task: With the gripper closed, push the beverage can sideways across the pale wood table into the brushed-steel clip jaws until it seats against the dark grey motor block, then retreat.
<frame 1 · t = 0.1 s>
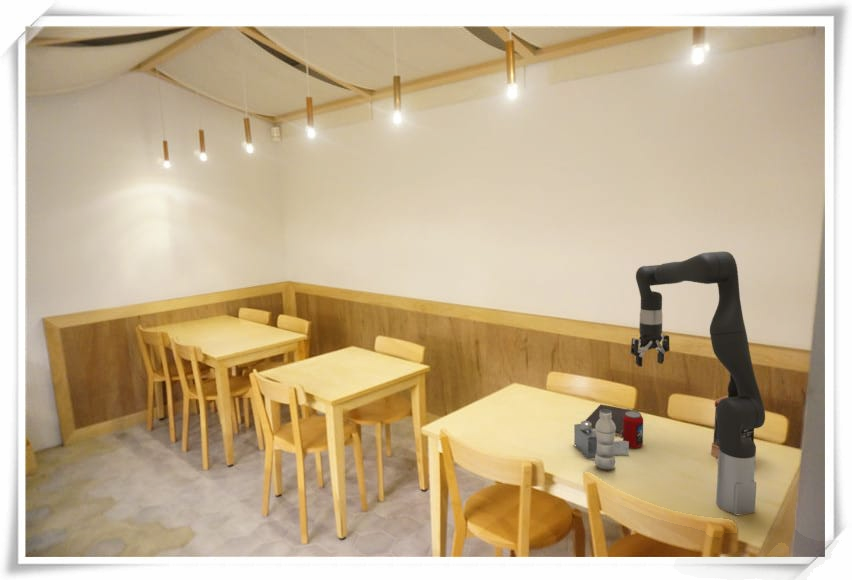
hand: (649, 364, 199), 29 cm above the table, fingers open, 8 cm apart
whiskey bottle: (732, 457, 188), on the table
motor housing: (599, 452, 197), on the table
hardcover book: (611, 423, 220), on the table
plastic bottle: (605, 468, 186), on the table
beverage can: (632, 445, 201), on the table
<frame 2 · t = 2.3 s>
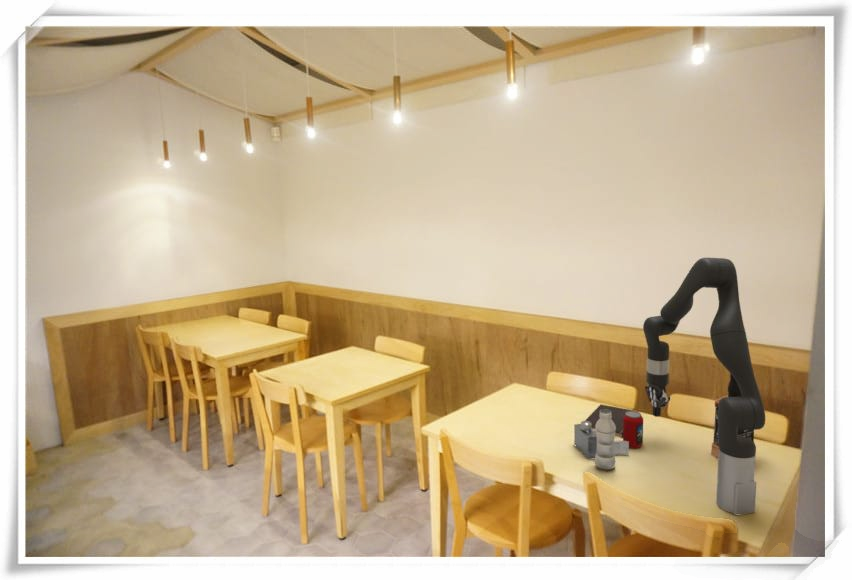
hand: (656, 415, 200), 10 cm above the table, fingers closed
nothing on the table moved.
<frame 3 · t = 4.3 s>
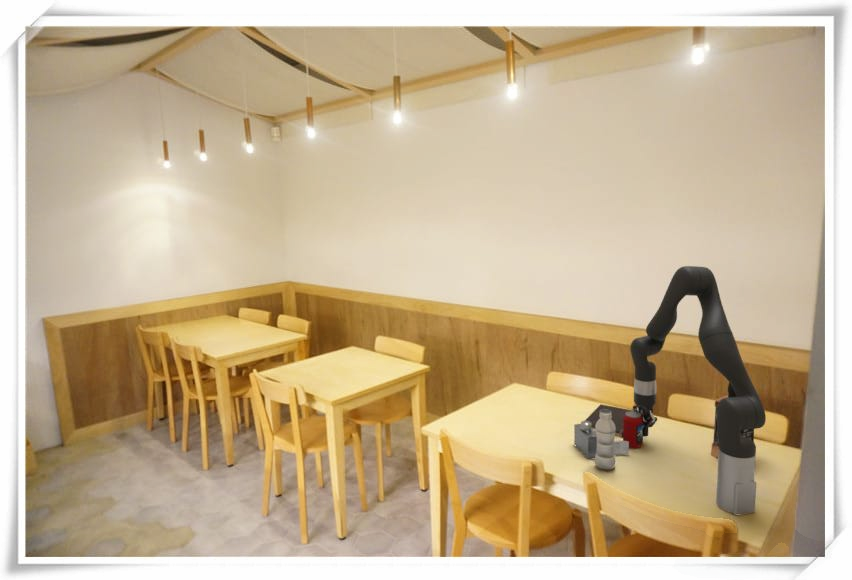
hand: (644, 435, 201), 3 cm above the table, fingers closed
beverage can: (632, 445, 201), on the table, touching gripper
everything else where it was.
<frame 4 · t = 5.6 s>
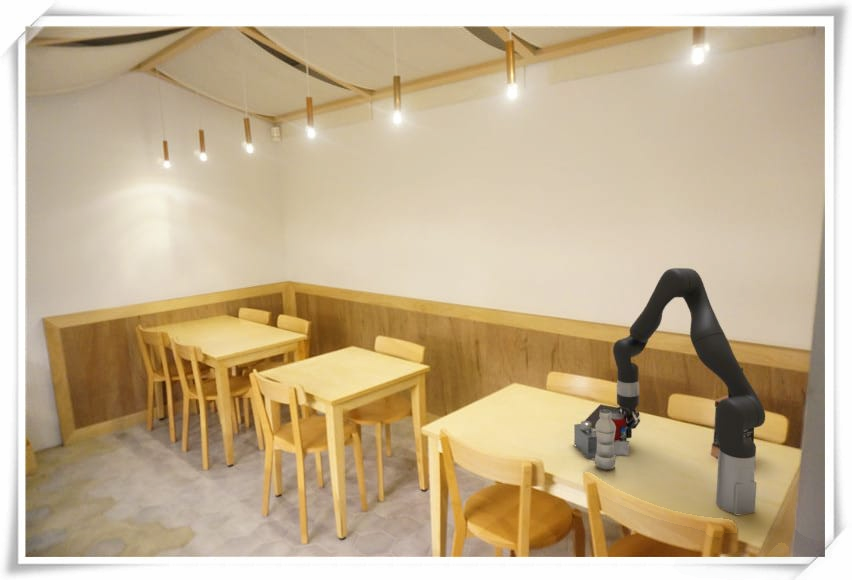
hand: (627, 437, 200), 3 cm above the table, fingers closed
beverage can: (616, 447, 200), on the table, touching gripper
everything else where it was.
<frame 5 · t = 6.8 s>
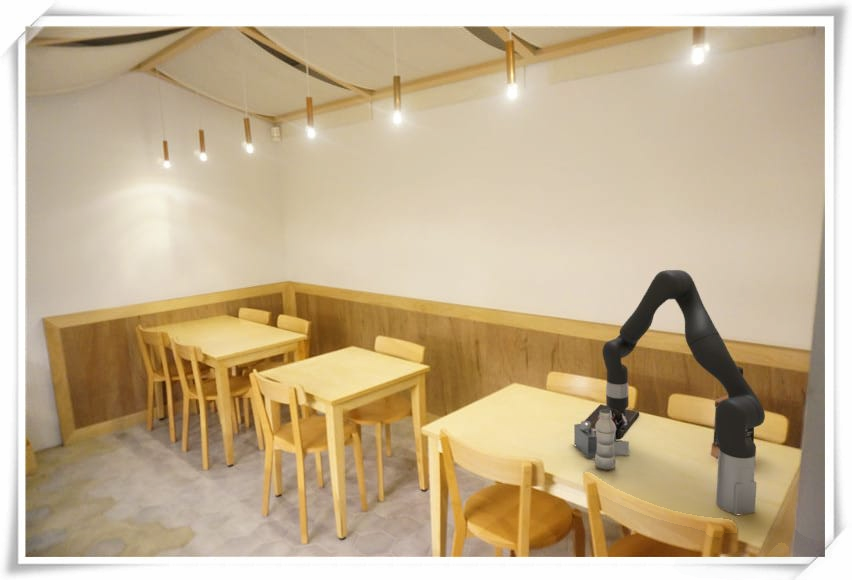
hand: (617, 438, 199), 3 cm above the table, fingers closed
beverage can: (606, 448, 199), on the table, touching gripper
everything else where it was.
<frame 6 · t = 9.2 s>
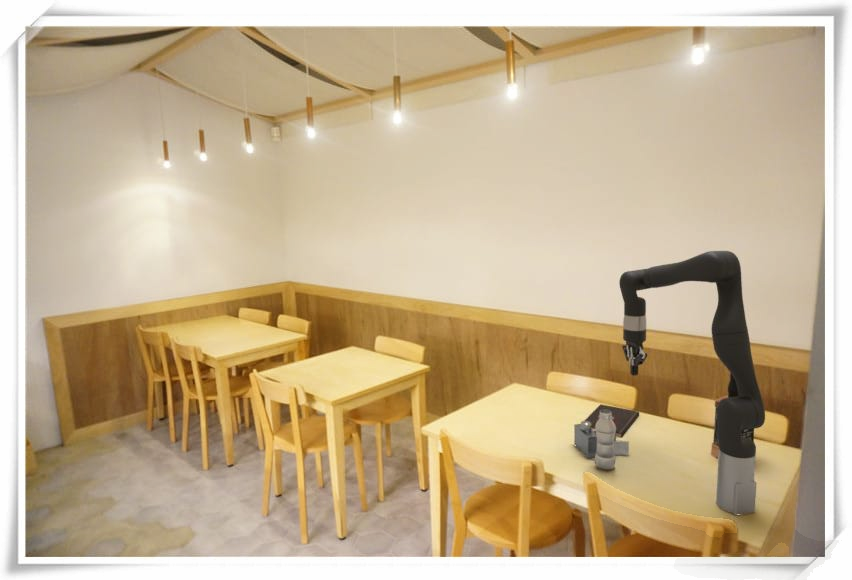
hand: (634, 374, 195), 27 cm above the table, fingers closed
beverage can: (605, 448, 199), on the table
everything else where it was.
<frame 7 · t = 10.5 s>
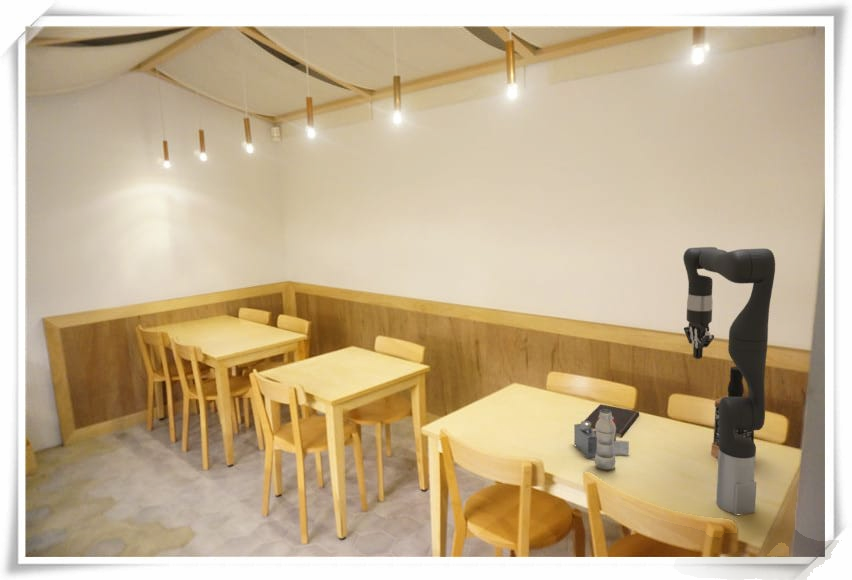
hand: (697, 357, 185), 35 cm above the table, fingers closed
nothing on the table moved.
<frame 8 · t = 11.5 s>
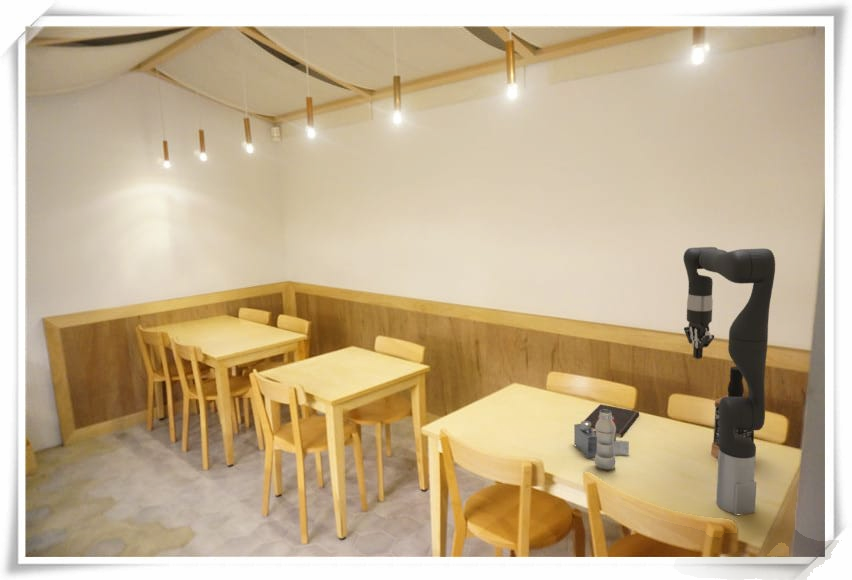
hand: (697, 357, 185), 35 cm above the table, fingers closed
nothing on the table moved.
at the end: beverage can 1.9 cm from the target spot, on the table; beverage can tilted 0°; beverage can moved 10.4 cm from its start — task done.
